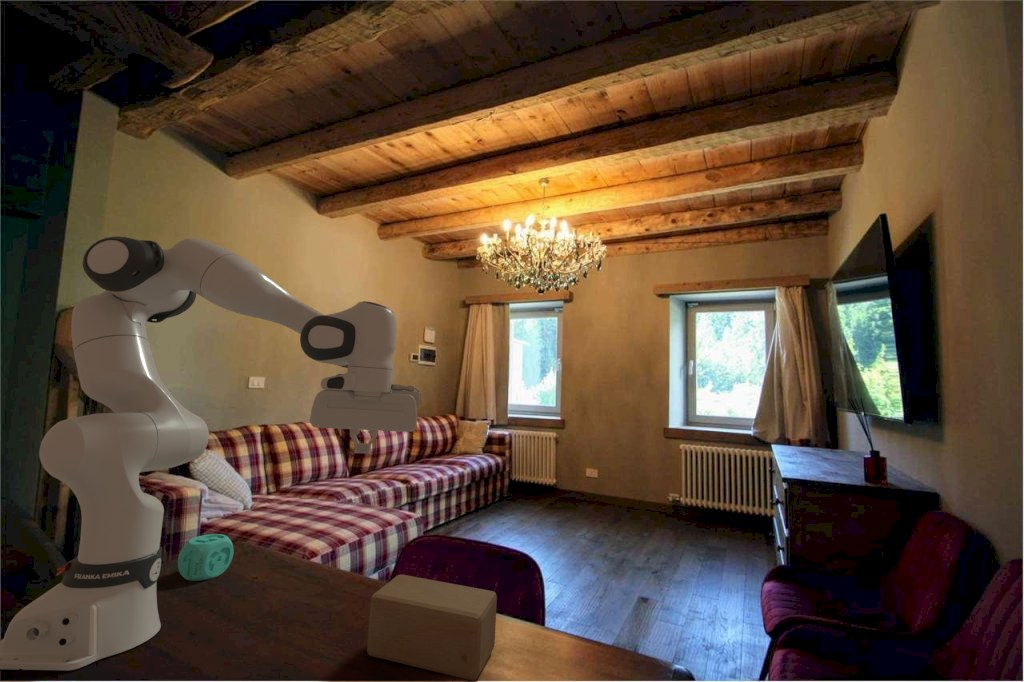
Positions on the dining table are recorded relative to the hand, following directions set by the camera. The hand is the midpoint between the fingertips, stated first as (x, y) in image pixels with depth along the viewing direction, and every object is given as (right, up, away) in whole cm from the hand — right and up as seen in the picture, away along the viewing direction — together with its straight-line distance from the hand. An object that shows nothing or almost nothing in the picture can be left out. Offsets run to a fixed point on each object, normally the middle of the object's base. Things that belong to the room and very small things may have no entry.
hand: (362, 453), depth 89 cm
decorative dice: (-43, -33, +17) cm, 57 cm away
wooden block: (+6, -26, -8) cm, 28 cm away
